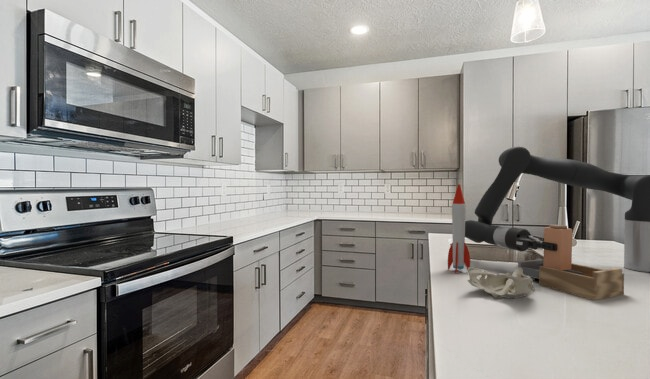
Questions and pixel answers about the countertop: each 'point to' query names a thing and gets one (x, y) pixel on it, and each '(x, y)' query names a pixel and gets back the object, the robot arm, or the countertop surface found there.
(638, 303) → the countertop surface
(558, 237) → the tin
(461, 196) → the toy rocket
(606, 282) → the dock
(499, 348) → the countertop surface
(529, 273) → the tray
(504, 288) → the anatomical model
